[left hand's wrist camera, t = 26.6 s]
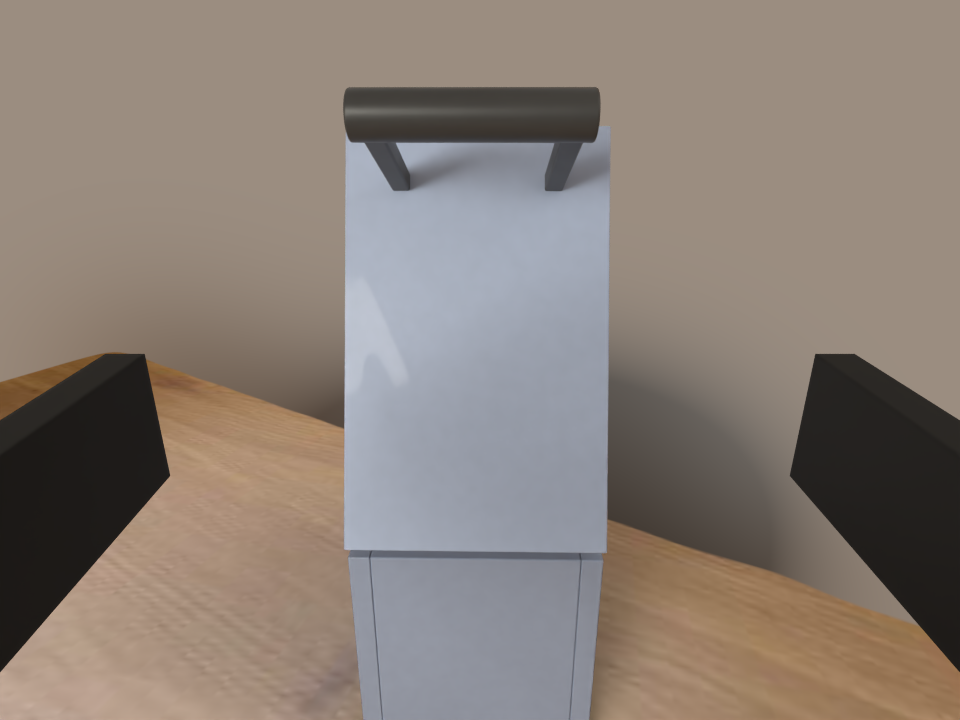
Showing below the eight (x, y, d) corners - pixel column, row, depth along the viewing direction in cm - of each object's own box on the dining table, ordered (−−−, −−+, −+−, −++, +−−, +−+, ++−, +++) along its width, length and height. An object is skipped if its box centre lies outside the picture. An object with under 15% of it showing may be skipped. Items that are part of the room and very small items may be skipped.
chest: (408, 527, 44) (401, 392, 40) (554, 529, 44) (561, 394, 40) (364, 741, 29) (347, 557, 25) (587, 745, 29) (604, 560, 25)
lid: (351, 134, 25) (280, 23, 17) (606, 134, 25) (665, 22, 16) (349, 542, 25) (278, 637, 17) (602, 545, 25) (659, 643, 17)
